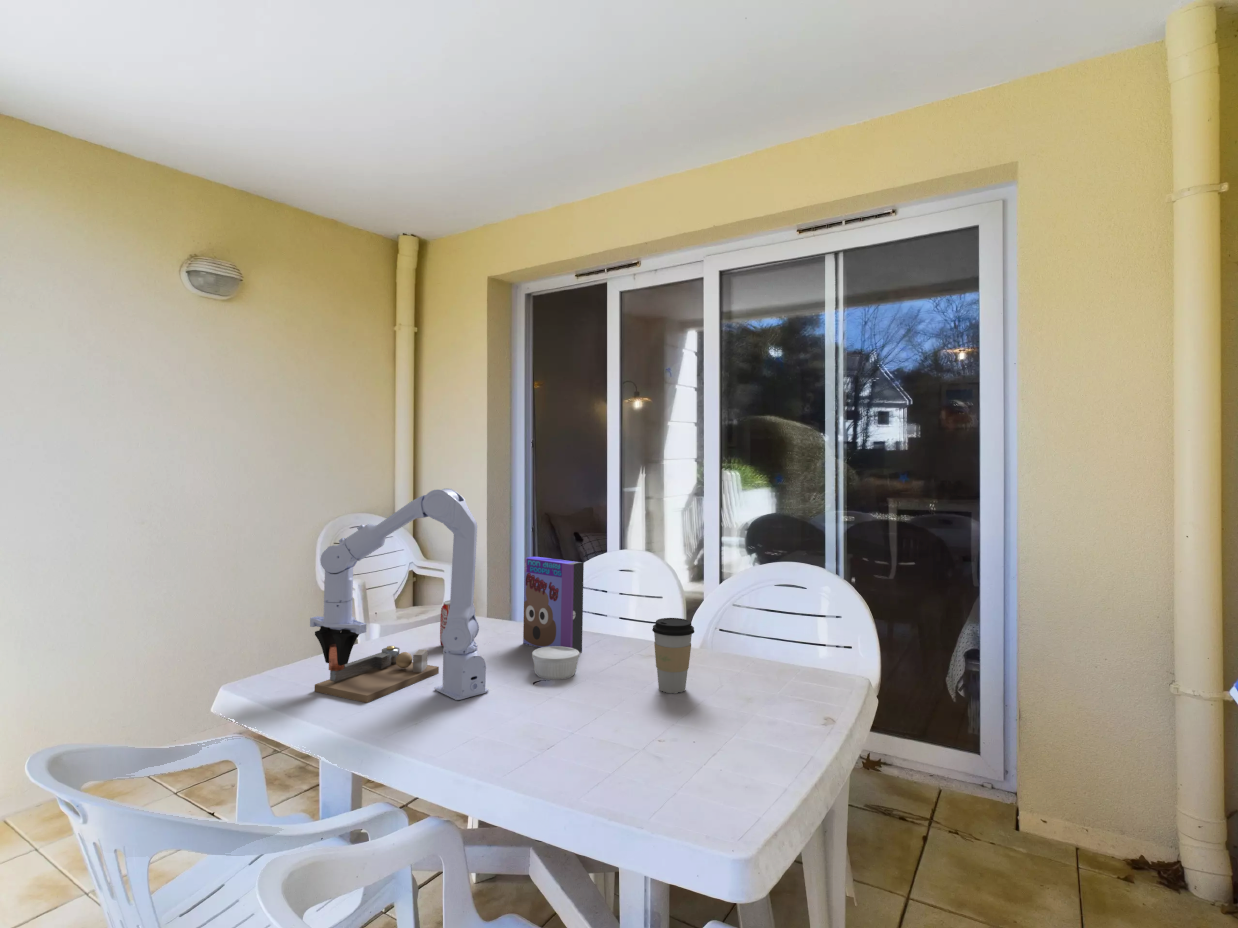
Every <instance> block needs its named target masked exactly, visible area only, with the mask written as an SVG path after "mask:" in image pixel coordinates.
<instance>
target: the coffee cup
mask: <svg viewBox="0 0 1238 928" xmlns="http://www.w3.org/2000/svg"><path fill="white" fill-rule="evenodd" d="M651 629H652V630H651V631H652V632H653V633H654V635H653V636H654V643H653V644H654V654H655V655H654V657H655V667H656V673H657V687H658V689H659V691H660V692H662V691H663V692H662V693H665V692H666V694H672V693H674V694H679V693H678V692H681V693H683V692H682V691H684V690H685V691H686V686H687V678H688V670H689V667H690V659H691V651H692V637H693V636H692V634H694V633H695V627H694V626H693V625H692V622H691V621H690V620H688V619H685V618H680V617H679V618H678V617H663V618H659V619H656V620H655V624H653V625H652V628H651ZM685 691H684V692H685Z"/></svg>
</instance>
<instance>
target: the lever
mask: <svg viewBox="0 0 1238 928" xmlns="http://www.w3.org/2000/svg"><path fill="white" fill-rule="evenodd" d="M400 650H401V649H400V647H397V646H395V645H388V646H386V647H383V648H382V649H381V652H378V653H375V654H371V655H369V656H365V657H362V658H360V659H357V660H354V661H351V662H348V663H347V664H344V665H341V666H339V665H338V662H337V647H336V644H332V645H330V646H329V663H328V671H329V673H330V675H329V679H330V681H333V682H336V681H339V680H342V679H345V678H347V677H350V676H353V675H356V674H359V673H361V672H364V671H367V670H370V669H373V668H375V667H376V668H381V669H382V668H384V667H387V666H390V665H391V664H395V663H396V658H397V656H398V655H399V654H400Z"/></svg>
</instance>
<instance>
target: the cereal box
mask: <svg viewBox="0 0 1238 928" xmlns="http://www.w3.org/2000/svg"><path fill="white" fill-rule="evenodd" d="M584 565H585V563H584V562H581V561H575V560H573V561H572V560H564V559H558V558H550V557H542V556H541V557H540V556H528V557H524V577H523V578H524V584H523V585H524V586H523V587H524V588H523V589H524V590H523V591H524V592H523V632H522V633H523V634H522V635H523V637H522V644H523V645H526V646H530V647H534V648H537V649H538V648H542V647H549V646H562V647H569V648H573V649H576V650H578V651H579V654H580V653H582V652H583V620H584V619H583V617H584V614H583V613H584V611H583V610H584V572H585V571H584Z"/></svg>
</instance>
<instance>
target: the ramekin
mask: <svg viewBox="0 0 1238 928" xmlns="http://www.w3.org/2000/svg"><path fill="white" fill-rule="evenodd" d="M531 658H532V661H533V669H534V674H536V675H537V677H538V678H540V679H541V678H542V679H543V680H544V679H545V680H552V681H553V680H565V679H569V678H572V677H573V676H574V675H575V674H576V671H577V666H578V661H579V658H580V653H579V651H578V650H576V649H573V648H569V647H562V646H549V647H542V648H538V647H537V648H536V649H534V650H533V651H532V652H531Z"/></svg>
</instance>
